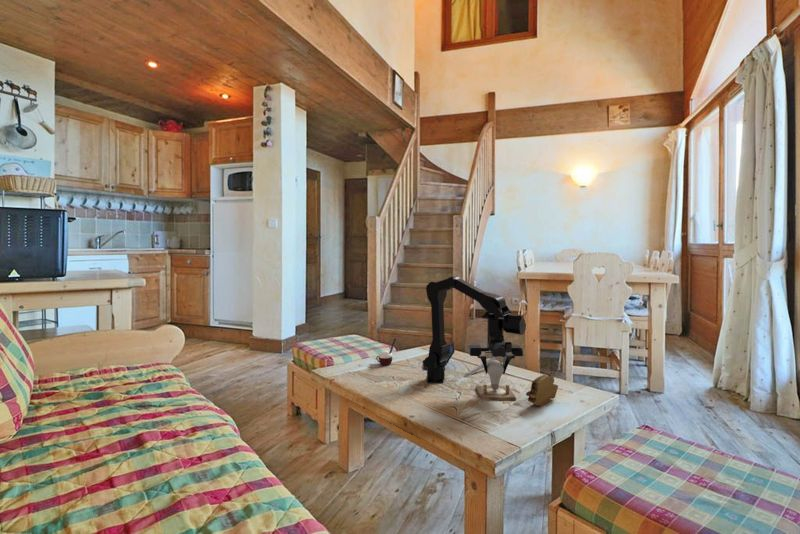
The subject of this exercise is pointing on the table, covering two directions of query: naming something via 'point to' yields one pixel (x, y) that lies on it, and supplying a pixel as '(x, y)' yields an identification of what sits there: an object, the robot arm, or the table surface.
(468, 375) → the caliper
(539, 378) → the wooden carving
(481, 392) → the pin holder
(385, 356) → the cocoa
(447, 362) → the handheld game console
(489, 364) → the lightbulb
